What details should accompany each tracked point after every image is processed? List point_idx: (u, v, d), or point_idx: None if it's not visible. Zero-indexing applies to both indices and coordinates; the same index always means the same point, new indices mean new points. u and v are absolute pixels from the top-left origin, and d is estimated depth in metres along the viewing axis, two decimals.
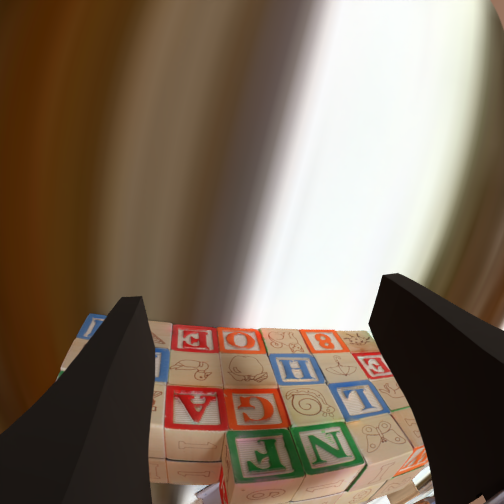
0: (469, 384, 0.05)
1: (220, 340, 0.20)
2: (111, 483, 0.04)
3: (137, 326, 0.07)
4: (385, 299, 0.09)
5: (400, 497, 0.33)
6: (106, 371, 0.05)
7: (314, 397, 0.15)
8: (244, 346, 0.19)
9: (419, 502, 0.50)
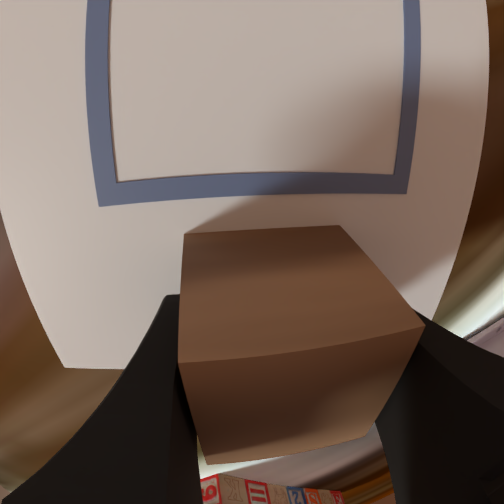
0: (429, 402, 0.05)
1: None
2: (185, 486, 0.04)
3: None
4: None
5: None
6: (172, 370, 0.05)
7: None
8: None
9: None
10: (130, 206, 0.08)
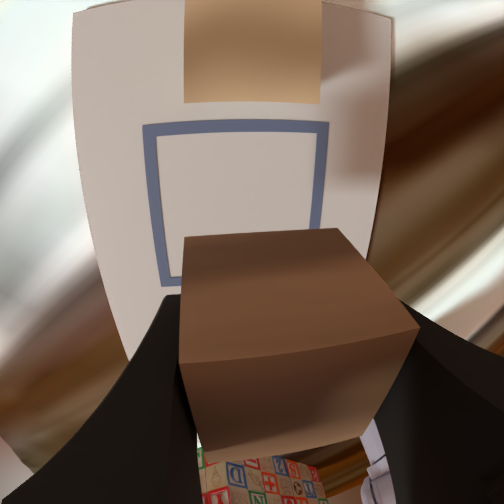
0: (429, 402, 0.05)
1: None
2: (185, 486, 0.04)
3: None
4: None
5: (263, 101, 0.10)
6: (172, 370, 0.05)
7: None
8: None
9: None
10: (176, 287, 0.18)
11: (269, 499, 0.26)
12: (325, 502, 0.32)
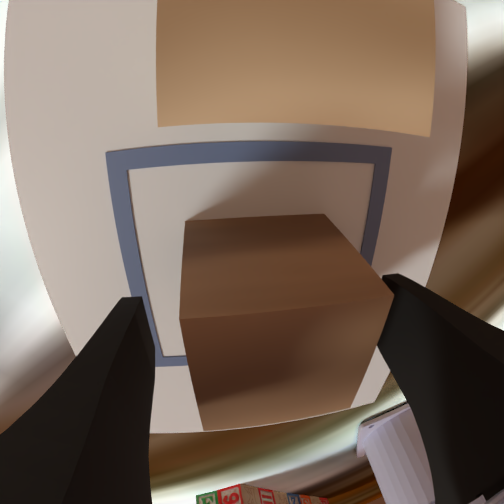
0: (469, 384, 0.05)
1: None
2: (111, 483, 0.04)
3: (137, 326, 0.07)
4: None
5: (328, 122, 0.05)
6: (106, 371, 0.05)
7: None
8: None
9: None
10: (171, 366, 0.13)
11: None
12: None
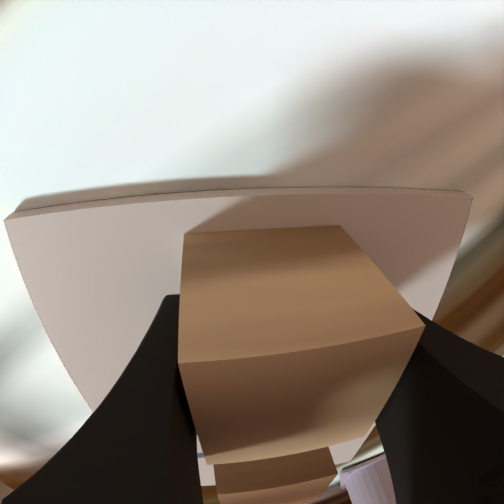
0: (429, 402, 0.05)
1: None
2: (185, 486, 0.04)
3: None
4: None
5: None
6: (172, 370, 0.05)
7: None
8: None
9: None
10: None
11: None
12: None
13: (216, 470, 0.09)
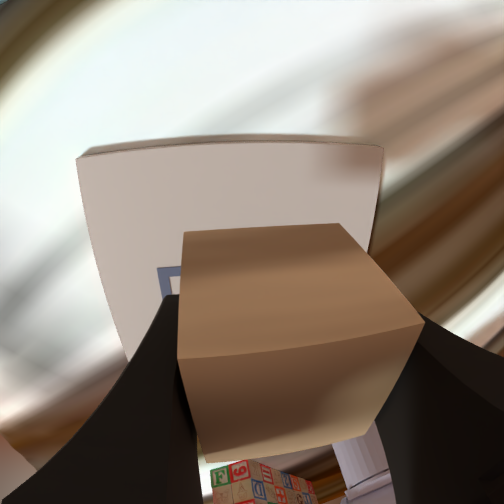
0: (429, 402, 0.05)
1: None
2: (185, 486, 0.04)
3: None
4: None
5: None
6: (172, 370, 0.05)
7: None
8: None
9: None
10: None
11: None
12: None
13: None
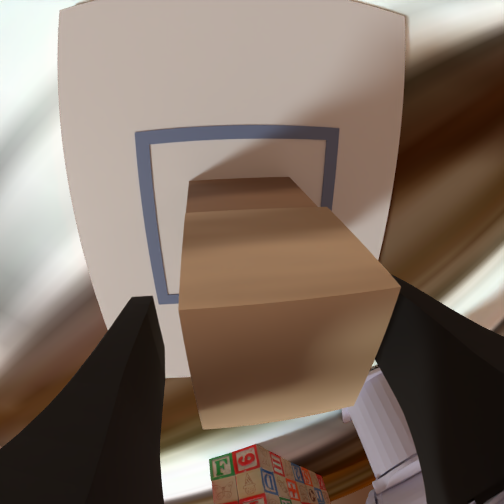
0: (460, 388, 0.05)
1: None
2: (128, 485, 0.04)
3: (149, 326, 0.07)
4: None
5: None
6: (121, 371, 0.05)
7: None
8: None
9: None
10: (174, 304, 0.16)
11: None
12: None
13: (188, 209, 0.10)
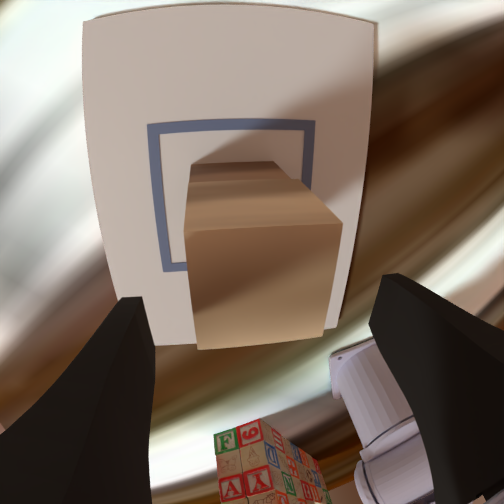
0: (469, 384, 0.05)
1: None
2: (111, 483, 0.04)
3: (137, 326, 0.07)
4: (385, 299, 0.09)
5: None
6: (106, 371, 0.05)
7: None
8: None
9: None
10: (177, 272, 0.19)
11: (294, 482, 0.28)
12: (326, 493, 0.35)
13: (191, 182, 0.13)
